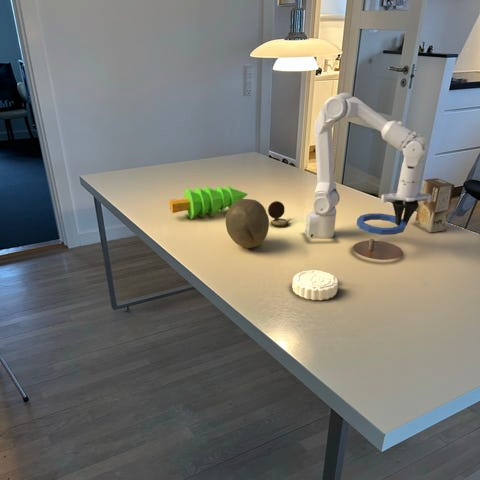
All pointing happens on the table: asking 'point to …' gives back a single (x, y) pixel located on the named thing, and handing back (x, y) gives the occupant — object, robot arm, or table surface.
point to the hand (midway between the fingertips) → (401, 224)
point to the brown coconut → (247, 223)
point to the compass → (277, 214)
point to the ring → (379, 230)
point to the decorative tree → (206, 201)
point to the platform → (377, 250)
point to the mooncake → (315, 285)
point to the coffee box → (435, 204)
